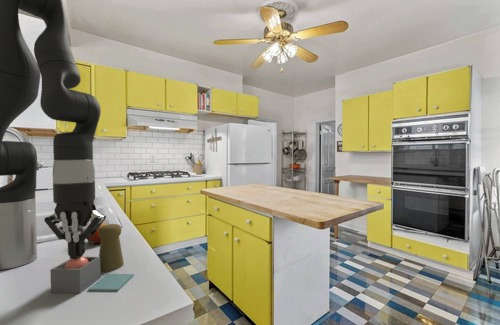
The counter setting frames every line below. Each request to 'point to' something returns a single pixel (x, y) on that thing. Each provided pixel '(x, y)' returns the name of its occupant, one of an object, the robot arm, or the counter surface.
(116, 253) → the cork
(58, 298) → the counter surface
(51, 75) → the robot arm
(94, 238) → the fruit
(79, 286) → the housing
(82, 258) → the salmon pink ball
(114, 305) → the counter surface
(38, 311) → the counter surface
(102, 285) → the tile
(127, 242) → the counter surface
